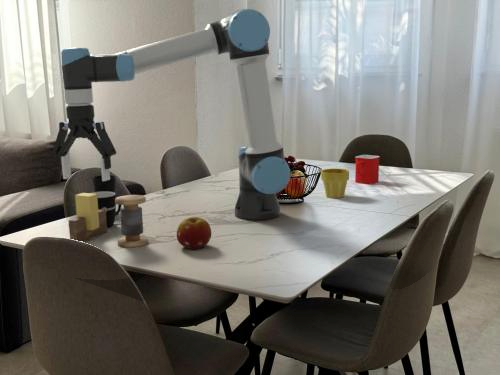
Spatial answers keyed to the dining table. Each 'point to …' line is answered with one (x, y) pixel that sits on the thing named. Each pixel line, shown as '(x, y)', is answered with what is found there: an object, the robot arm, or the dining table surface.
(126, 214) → the bobbin
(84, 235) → the notched board
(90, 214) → the yellow block
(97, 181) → the cup
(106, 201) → the mug
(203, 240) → the fruit
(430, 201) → the dining table surface
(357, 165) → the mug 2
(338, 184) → the plant pot
